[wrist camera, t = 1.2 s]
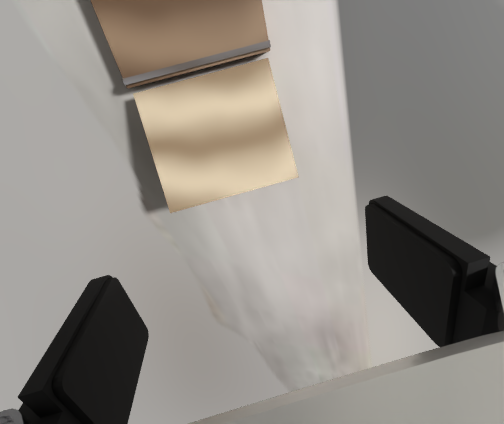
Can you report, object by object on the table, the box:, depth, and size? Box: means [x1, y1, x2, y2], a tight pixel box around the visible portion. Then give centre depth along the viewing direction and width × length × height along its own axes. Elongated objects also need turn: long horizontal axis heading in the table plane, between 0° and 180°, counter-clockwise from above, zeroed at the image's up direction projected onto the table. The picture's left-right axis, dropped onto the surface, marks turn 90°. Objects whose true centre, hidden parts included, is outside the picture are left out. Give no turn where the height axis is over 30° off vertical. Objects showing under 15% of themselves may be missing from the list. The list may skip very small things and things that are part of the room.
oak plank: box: [133, 58, 298, 213], centre depth 25 cm, size 11×12×2 cm
